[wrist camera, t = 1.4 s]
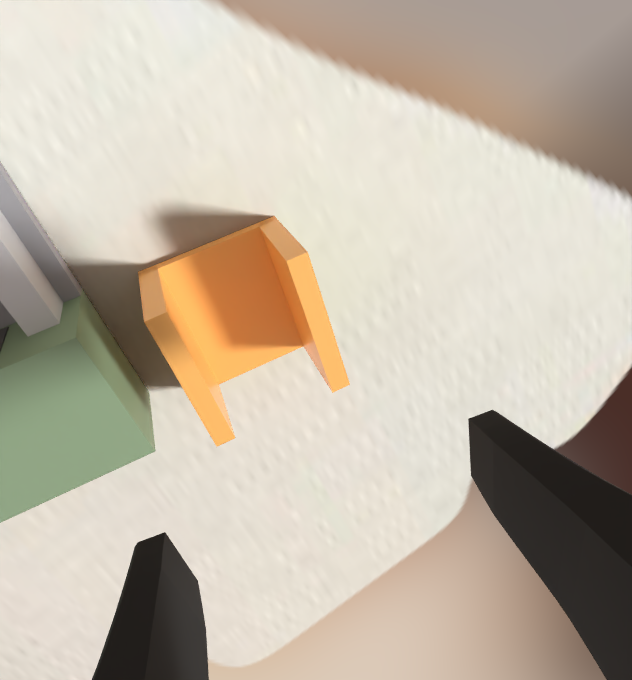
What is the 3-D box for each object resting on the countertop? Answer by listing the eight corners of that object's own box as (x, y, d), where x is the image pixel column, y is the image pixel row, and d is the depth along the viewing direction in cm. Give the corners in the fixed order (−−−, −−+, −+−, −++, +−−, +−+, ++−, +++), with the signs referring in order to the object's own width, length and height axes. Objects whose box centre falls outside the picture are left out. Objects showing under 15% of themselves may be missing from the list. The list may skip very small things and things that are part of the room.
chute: (200, 383, 21) (216, 446, 18) (137, 270, 18) (143, 321, 15) (313, 332, 22) (349, 384, 18) (273, 214, 18) (307, 252, 15)
